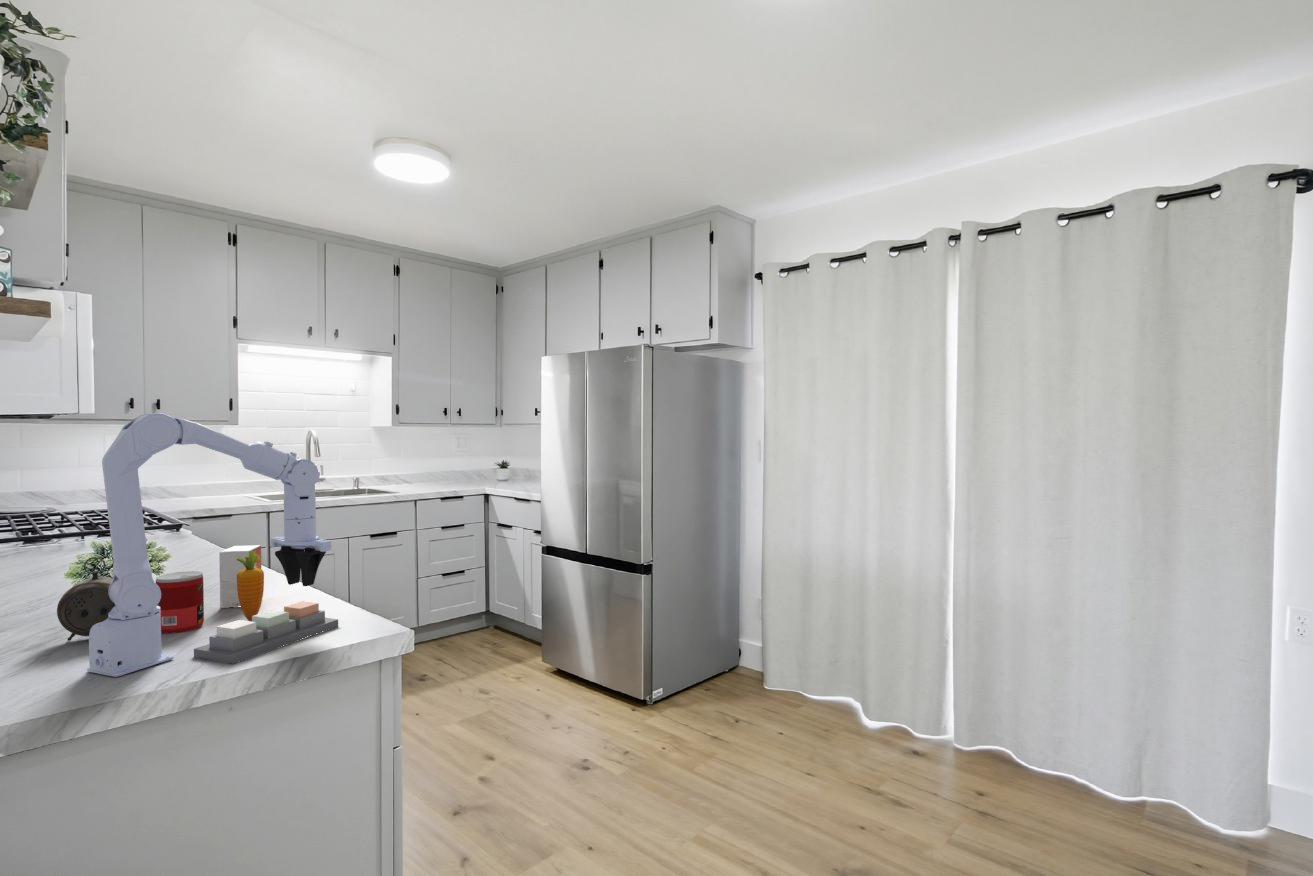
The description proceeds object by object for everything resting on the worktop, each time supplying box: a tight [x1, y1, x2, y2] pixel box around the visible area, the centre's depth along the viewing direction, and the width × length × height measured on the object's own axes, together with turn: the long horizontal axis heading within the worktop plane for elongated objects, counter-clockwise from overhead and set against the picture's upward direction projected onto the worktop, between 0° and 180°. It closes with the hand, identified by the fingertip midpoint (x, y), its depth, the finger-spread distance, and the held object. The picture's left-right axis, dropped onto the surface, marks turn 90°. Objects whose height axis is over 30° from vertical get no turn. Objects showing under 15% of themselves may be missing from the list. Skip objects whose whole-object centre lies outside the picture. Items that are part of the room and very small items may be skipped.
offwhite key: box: [216, 619, 256, 639], centre depth 123 cm, size 4×4×2 cm
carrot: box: [236, 551, 265, 622], centre depth 142 cm, size 5×5×15 cm
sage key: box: [252, 609, 289, 628], centre depth 130 cm, size 4×4×2 cm
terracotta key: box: [283, 600, 320, 618], centre depth 136 cm, size 4×4×2 cm
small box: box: [219, 544, 262, 609], centre depth 157 cm, size 8×6×13 cm
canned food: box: [155, 570, 205, 634], centre depth 138 cm, size 8×8×11 cm
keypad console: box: [193, 609, 339, 665], centre depth 130 cm, size 23×10×4 cm, turn 159°
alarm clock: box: [56, 556, 116, 641], centre depth 131 cm, size 11×5×16 cm, turn 114°
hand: (301, 584), depth 136 cm, fingers open, 3 cm apart
